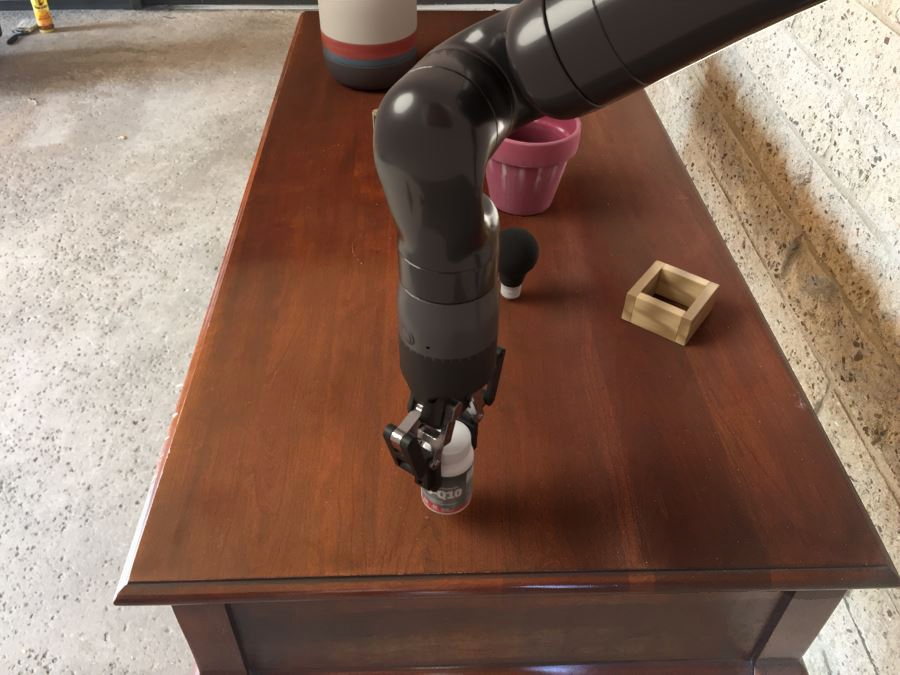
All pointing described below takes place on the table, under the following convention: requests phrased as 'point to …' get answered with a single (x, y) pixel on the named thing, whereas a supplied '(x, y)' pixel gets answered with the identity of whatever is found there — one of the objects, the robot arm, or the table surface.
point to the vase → (368, 41)
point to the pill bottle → (453, 474)
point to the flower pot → (531, 165)
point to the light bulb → (516, 259)
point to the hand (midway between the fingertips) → (447, 464)
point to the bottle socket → (663, 315)
